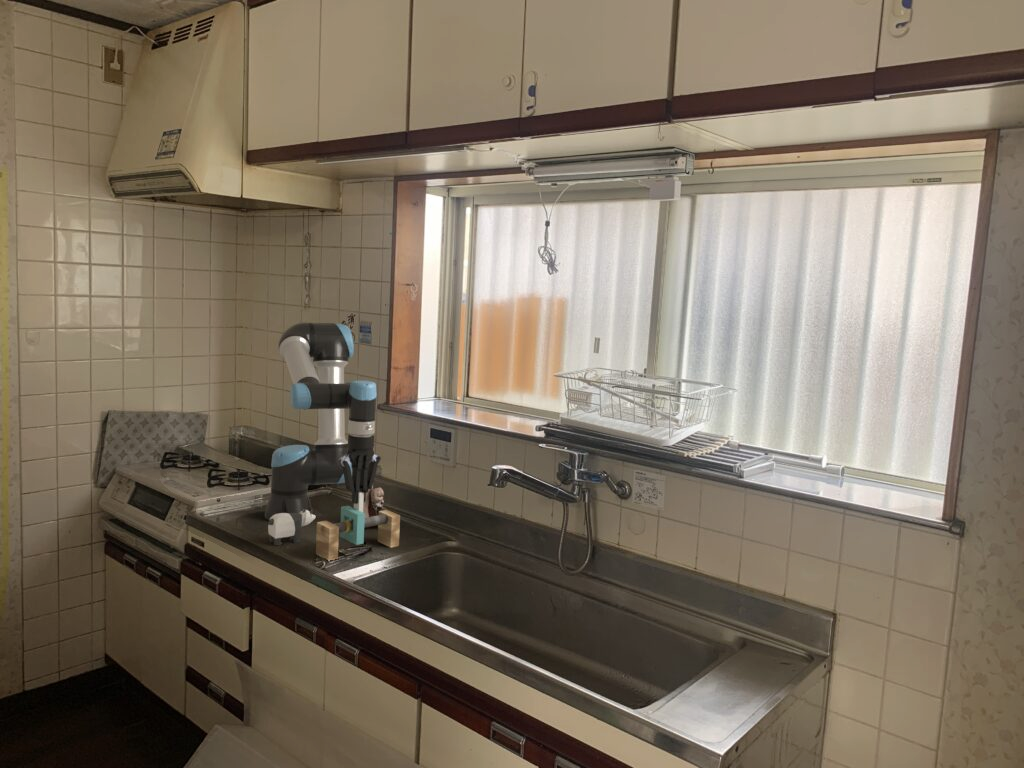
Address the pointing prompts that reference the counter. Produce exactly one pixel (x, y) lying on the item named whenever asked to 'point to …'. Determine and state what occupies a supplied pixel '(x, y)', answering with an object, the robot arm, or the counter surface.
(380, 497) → the toy
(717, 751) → the counter surface
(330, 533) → the pipe stand
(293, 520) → the giant panda
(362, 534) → the collar
